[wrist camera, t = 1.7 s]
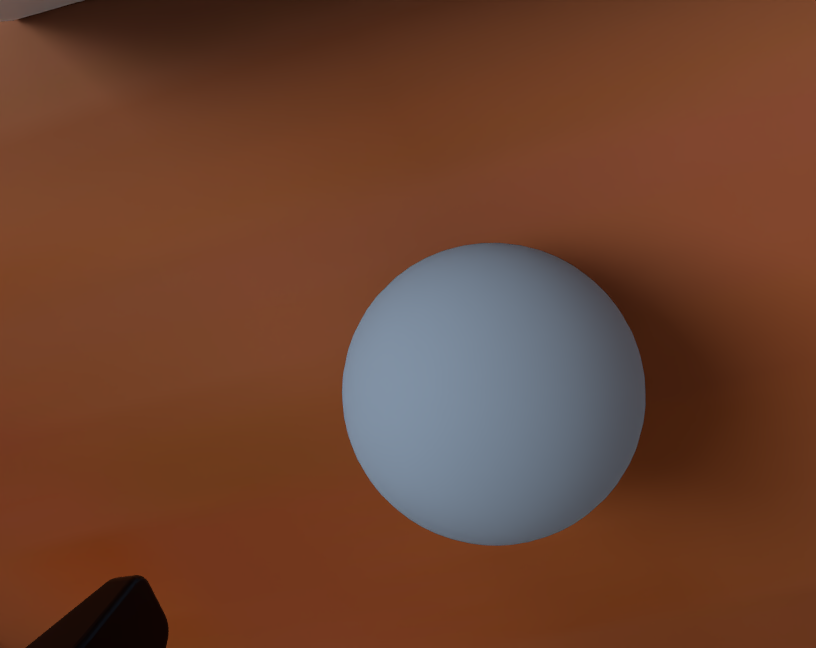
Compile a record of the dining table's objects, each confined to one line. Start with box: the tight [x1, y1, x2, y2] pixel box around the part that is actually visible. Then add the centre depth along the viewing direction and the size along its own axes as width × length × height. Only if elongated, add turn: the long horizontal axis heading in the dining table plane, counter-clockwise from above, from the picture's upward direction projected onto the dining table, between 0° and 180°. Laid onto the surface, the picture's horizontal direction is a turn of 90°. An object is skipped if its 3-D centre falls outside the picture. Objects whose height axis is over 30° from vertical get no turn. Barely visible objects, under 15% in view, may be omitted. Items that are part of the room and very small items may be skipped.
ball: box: [342, 243, 646, 545], centre depth 12 cm, size 5×5×5 cm
